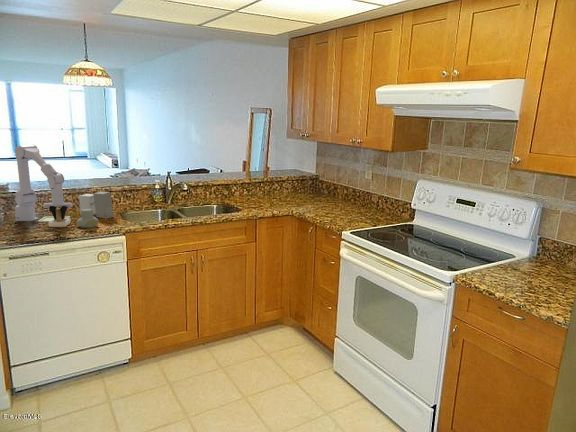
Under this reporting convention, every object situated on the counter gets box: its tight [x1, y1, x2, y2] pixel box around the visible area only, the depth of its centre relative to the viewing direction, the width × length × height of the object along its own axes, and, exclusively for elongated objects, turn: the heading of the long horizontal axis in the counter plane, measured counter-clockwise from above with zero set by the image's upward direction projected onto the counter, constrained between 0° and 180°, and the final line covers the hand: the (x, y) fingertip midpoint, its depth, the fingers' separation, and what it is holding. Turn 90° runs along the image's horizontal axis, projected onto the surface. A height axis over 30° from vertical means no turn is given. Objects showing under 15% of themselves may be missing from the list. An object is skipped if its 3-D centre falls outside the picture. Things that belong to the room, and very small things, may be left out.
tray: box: [36, 215, 71, 223], centre depth 250 cm, size 14×12×1 cm
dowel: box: [55, 207, 63, 222], centre depth 238 cm, size 3×3×9 cm
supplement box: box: [78, 193, 96, 216], centre depth 265 cm, size 7×7×13 cm
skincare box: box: [93, 190, 114, 220], centre depth 259 cm, size 8×7×16 cm
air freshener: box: [76, 209, 99, 229], centre depth 237 cm, size 11×8×10 cm
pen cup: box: [47, 218, 72, 228], centre depth 239 cm, size 9×9×3 cm
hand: (59, 219), depth 239 cm, fingers open, 3 cm apart
